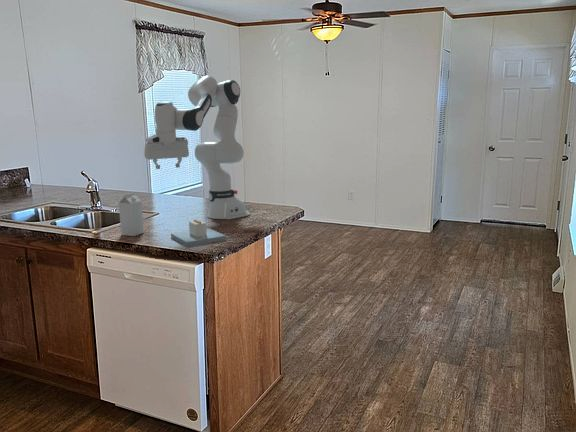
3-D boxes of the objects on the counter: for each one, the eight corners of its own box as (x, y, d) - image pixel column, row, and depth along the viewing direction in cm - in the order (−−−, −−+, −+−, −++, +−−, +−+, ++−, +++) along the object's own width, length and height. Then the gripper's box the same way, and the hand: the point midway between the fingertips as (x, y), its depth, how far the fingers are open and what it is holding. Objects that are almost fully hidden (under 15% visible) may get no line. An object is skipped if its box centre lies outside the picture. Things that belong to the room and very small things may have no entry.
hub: (208, 232, 235) (207, 221, 234) (225, 240, 220) (225, 229, 219) (171, 237, 225) (170, 226, 224) (187, 246, 211) (186, 235, 210)
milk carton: (121, 235, 231) (117, 194, 227) (131, 231, 237) (128, 191, 233) (134, 236, 228) (130, 194, 224) (143, 232, 235) (140, 192, 231)
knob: (200, 232, 227) (199, 218, 225) (206, 235, 221) (206, 221, 220) (189, 233, 224) (188, 219, 223) (196, 237, 218) (195, 222, 217)
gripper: (185, 136, 240) (186, 165, 243) (142, 138, 229) (144, 169, 232) (190, 137, 235) (191, 167, 238) (146, 139, 224) (148, 170, 227)
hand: (168, 168), depth 235 cm, fingers open, 8 cm apart
